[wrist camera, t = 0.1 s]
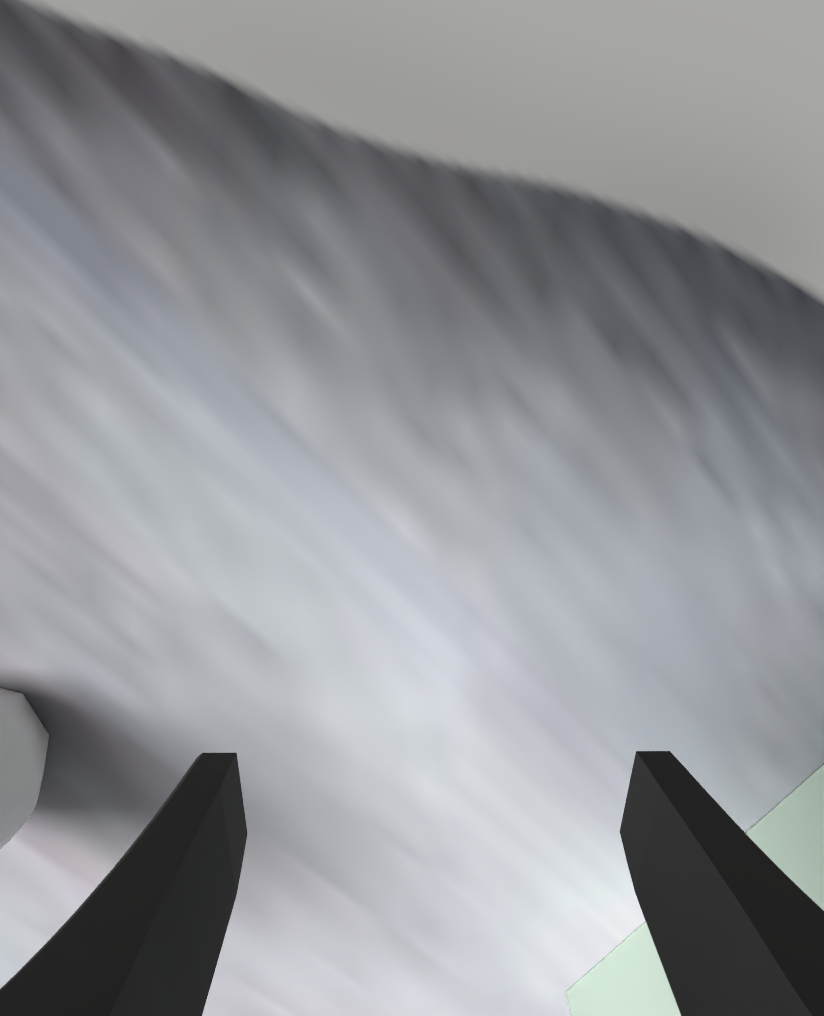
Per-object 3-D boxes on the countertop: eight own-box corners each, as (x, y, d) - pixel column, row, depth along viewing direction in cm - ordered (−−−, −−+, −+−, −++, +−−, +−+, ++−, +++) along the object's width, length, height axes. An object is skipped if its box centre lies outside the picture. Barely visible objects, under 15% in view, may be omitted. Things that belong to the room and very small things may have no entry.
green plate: (586, 1006, 27) (626, 1152, 22) (565, 992, 27) (601, 1137, 22) (886, 745, 24) (1007, 850, 19) (864, 727, 24) (983, 828, 19)
